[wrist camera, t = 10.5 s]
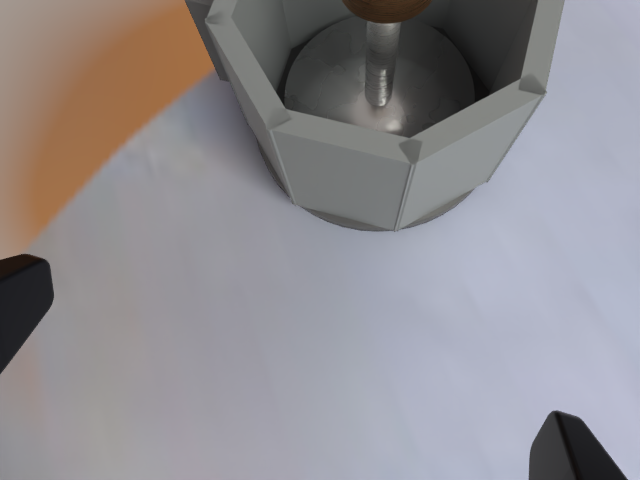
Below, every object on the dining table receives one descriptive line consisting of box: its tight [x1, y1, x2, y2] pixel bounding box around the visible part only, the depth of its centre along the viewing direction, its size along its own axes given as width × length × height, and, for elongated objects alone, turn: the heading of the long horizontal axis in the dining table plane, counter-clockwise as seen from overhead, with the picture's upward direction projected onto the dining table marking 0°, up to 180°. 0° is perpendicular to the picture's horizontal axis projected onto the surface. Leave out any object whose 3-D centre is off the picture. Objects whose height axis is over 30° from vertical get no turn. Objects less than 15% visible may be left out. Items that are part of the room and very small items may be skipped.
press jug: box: [185, 0, 565, 232], centre depth 21 cm, size 12×13×8 cm
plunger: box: [284, 0, 475, 138], centre depth 19 cm, size 8×8×10 cm
